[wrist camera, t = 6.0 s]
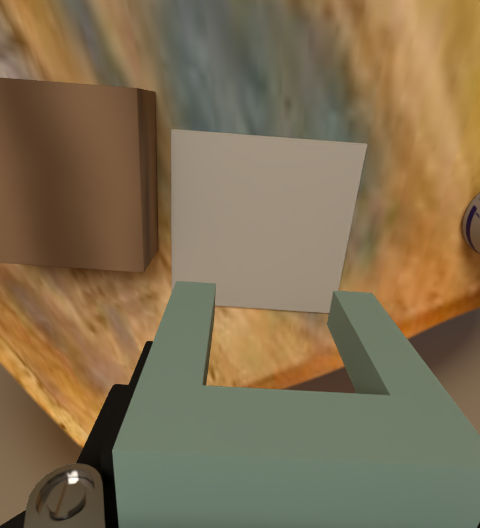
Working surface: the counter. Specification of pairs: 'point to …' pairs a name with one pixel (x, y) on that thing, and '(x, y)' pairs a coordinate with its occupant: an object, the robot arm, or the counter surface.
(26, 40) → the counter surface
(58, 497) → the robot arm
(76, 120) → the brown square block
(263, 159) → the mat
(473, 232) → the energy drink
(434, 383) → the green notched block
